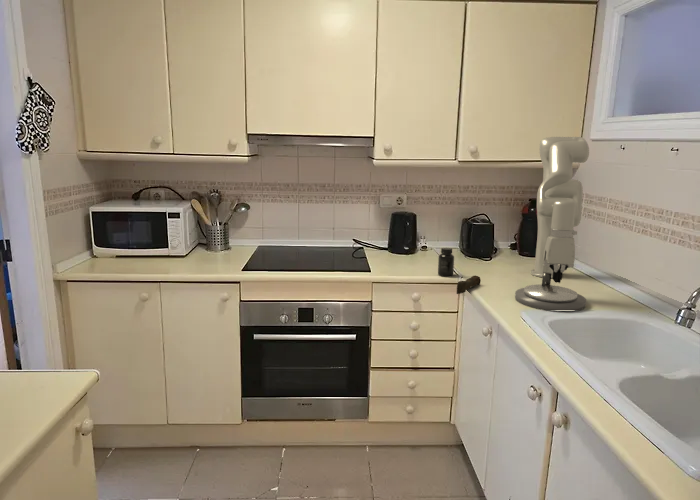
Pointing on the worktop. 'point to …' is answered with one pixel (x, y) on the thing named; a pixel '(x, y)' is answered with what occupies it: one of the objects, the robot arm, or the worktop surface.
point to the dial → (550, 291)
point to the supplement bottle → (446, 263)
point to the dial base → (539, 304)
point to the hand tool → (467, 284)
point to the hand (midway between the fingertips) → (556, 281)
